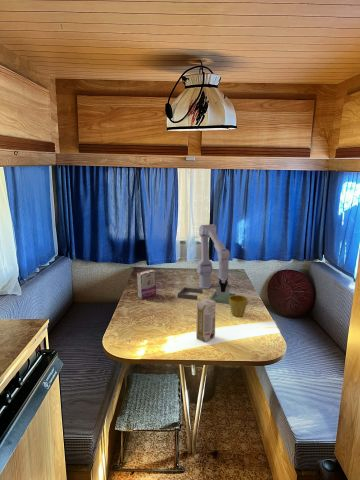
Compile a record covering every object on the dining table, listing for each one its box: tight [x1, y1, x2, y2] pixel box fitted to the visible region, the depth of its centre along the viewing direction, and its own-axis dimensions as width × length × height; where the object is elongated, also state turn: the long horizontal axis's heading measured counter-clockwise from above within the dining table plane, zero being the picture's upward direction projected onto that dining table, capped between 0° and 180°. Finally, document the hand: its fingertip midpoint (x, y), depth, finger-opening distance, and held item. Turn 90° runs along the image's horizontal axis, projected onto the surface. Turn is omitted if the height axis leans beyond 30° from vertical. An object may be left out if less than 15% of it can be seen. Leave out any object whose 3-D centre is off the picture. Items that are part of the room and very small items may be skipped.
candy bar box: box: [136, 269, 157, 300], centre depth 232 cm, size 11×5×16 cm, turn 129°
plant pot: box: [228, 294, 249, 318], centre depth 204 cm, size 10×10×10 cm
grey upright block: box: [215, 282, 230, 295], centre depth 228 cm, size 5×8×6 cm, turn 83°
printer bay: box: [177, 286, 204, 301], centre depth 235 cm, size 13×13×2 cm
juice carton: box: [195, 297, 217, 343], centre depth 176 cm, size 8×9×19 cm
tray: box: [209, 290, 237, 305], centre depth 229 cm, size 14×14×2 cm
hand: (223, 290), depth 228 cm, fingers closed on grey upright block, 4 cm apart
